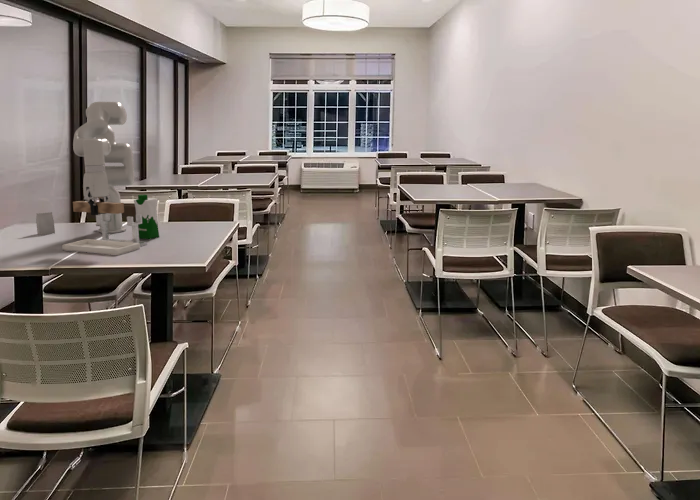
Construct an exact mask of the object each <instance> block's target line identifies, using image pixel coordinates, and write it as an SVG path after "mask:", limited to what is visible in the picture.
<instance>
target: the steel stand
mask: <svg viewBox="0 0 700 500" xmlns="http://www.w3.org/2000/svg"><path fill="white" fill-rule="evenodd" d="M105 217H106V220H102V215H101V214H98V215H95V221H96V223H97V224H101V227H102V233H101V237H102V239H101V240H105V241H118V242H131V243H140V248H141V247H144V246H147V245H148V241H142V240H141V241H140V239H139V230H138V224H142V215H136V214H135V222H134V216H126V223H127V226H128V227H129V226H130V227H131V231H132V232H131V234H132V240H129V239H128V240H127V239H114V238H113V239H112V238H109V233H108V223H107V222H112V217H111V213H106V214H105Z"/></svg>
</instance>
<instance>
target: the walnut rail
mask: <svg viewBox="0 0 700 500" xmlns="http://www.w3.org/2000/svg"><path fill="white" fill-rule="evenodd" d="M96 205H98V214H100V213H112V214H119V213H121V214H123V213H125V208H124V207H125V204H124V202H121V203H116V202H99V201H97V203H96ZM72 208H73V212H74V213H75V212H76V213H91V208H90V205H89V203H88V202H87V201H86V200H78V201H77V200H76V201H72Z"/></svg>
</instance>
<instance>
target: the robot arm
mask: <svg viewBox="0 0 700 500" xmlns="http://www.w3.org/2000/svg"><path fill="white" fill-rule="evenodd" d="M85 116H86V118H87V119H86V122H85V123H83V124H82V125H81V126H79V127H78V128H77V129H76V130H75V132H74V135H73V142H72V146H73V147H72V148H73V152H74V154H75V155H76V156H78V157H83V159H84V170H85V171H84V172H85V173H84V174H83V181H82V182H83V184H82V188H83V189H82V190H83V197H84V198H83V201H87V202H88V203H89V205H90V208H91V212H90V215H91V216H96V215H102V220H106V217H105V214H106V213H98V205H96V203H97V202H116V203H122V202H121V193H120V192H119V191H118V190H117V189H116V188H115V187H116V186H117V187H120V186H121V187H122V186H125V187H126V186H132V185H133V184H134V182H135V169H134V156H133V149H132V146H131V145H130V144H128V143H126V142H116V140H115V138H116V137H115V132H114V130H113V128H112V127H111V126H116V125H118V126H120V125H121V126H122V125H125V124H126V123H127V119H128V118H127V111H126V109H125V107H124V105H123V104H122V103H121V102H118V101H94V102H92V103H91V104H89V107H87V108H86V109H85ZM105 164H122V165H105ZM122 214H123V213H119V214H112V213H111V217H112V222H107V223H108V234H114V233H115V234H116V233H121V232H122V233H123V232H126V231H127V228H126V227H124V226H123V218H122V217H123V216H122ZM95 226H96V227H99V229H98V230H97V231H98V232H99V233H100V234H102V227H101V224H97V222H96V223H95Z"/></svg>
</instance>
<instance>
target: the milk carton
mask: <svg viewBox="0 0 700 500" xmlns="http://www.w3.org/2000/svg"><path fill="white" fill-rule="evenodd" d="M158 200H159V198H155V197H154V198H153V197H152V198H151V197H148V194H138V195H137V198H136V199H135V198H134V199H133V204H134V207H135V216H136V215H142V224H138V230H139V240H140V239H142V240H153V239H156V237H157V238H160V232H159V225H158V224H159V223H158V221H159V220H158V210H157V209H158Z"/></svg>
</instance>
